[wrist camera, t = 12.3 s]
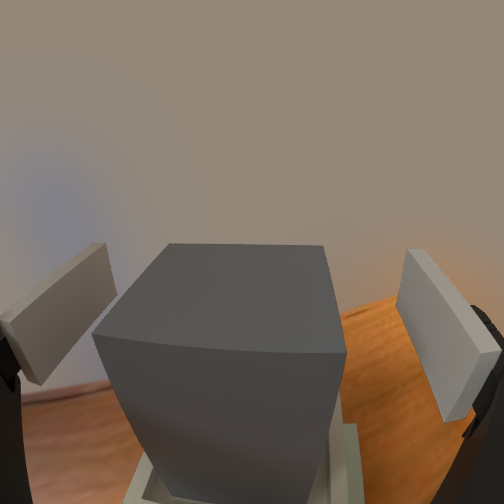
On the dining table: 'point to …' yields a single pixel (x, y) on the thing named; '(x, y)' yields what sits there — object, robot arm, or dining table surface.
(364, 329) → the dining table surface
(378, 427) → the dining table surface
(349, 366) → the dining table surface
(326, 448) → the cream base brick
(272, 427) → the charcoal brick
